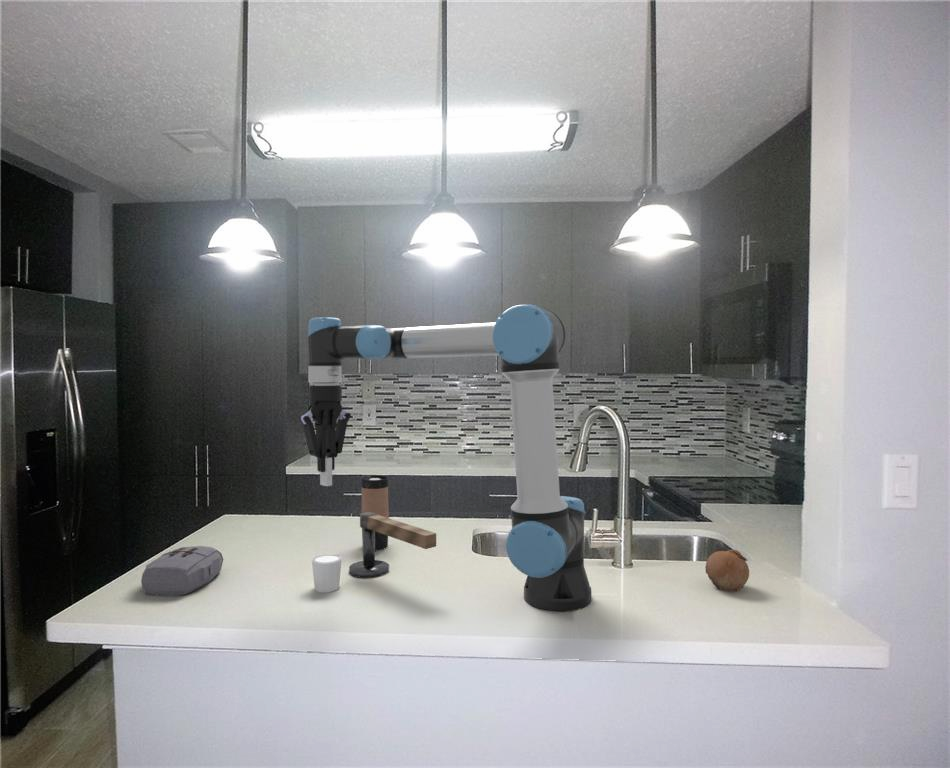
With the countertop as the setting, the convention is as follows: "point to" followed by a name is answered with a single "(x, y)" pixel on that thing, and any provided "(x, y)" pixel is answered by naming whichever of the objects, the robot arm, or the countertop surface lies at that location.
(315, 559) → the white cup
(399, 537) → the swing arm
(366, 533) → the swing post
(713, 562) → the onion
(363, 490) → the travel mug
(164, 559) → the soft grey pack
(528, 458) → the robot arm
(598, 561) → the countertop surface
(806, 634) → the countertop surface
